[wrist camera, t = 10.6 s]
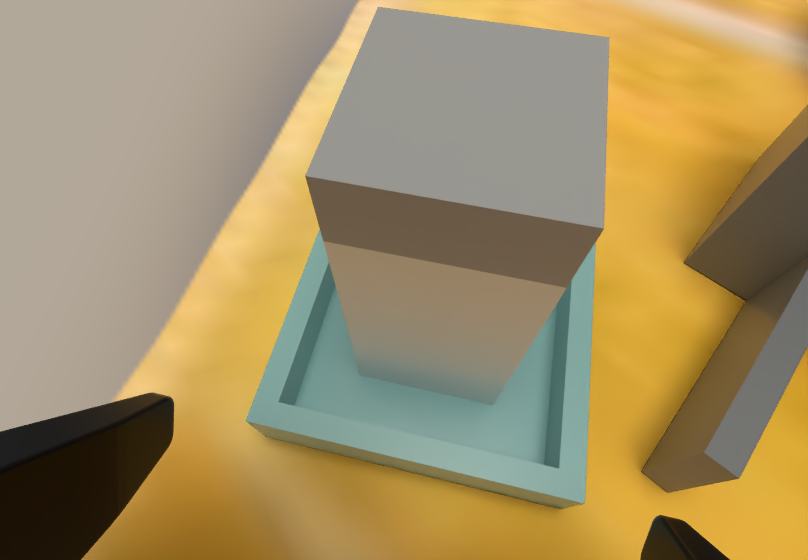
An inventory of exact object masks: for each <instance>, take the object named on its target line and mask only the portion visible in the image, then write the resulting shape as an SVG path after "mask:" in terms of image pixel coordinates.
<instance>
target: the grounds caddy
mask: <svg viewBox="0 0 808 560" xmlns="http://www.w3.org/2000/svg"><path fill="white" fill-rule="evenodd" d="M608 68H609V37H602V36H595V35H587V34H580V33H572V32H564V31H557V30H549V29H542V28H534V27H526V26H519V25H511V24H504V23H496V22H489V21H481V20H473V19H466V18H458V17H451V16H443V15H435V14H428V13H420V12H413V11H405V10H398V9H390V8H382V7H378V8H377V11H376V13H375V15H374V18H373V20H372V22H371V25H370V27H369V29H368V31H367V34H366V36H365V38H364V41H363V43H362V45H361V48H360V50H359V52H358V55H357V57H356V59H355V62H354V64H353V66H352V69H351V71H350V73H349V76H348V78H347V80H346V83H345V85H344V87H343V90H342V92H341V94H340V97H339V99H338V101H337V104H336V106H335V108H334V110H333V113H332V115H331V117H330V120H329V122H328V124H327V127H326V129H325V131H324V134H323V136H322V138H321V141H320V143H319V145H318V148H317V150H316V152H315V155H314V157H313V159H312V162H311V164H310V166H309V169H308V171H307V173H306V176H305V177H306V180H307V184H308V187H309V191H310V195H311V198H312V202H313V206H314V209H315V213H316V216H317V220H318V224H319V227H320V231H321V235H322V238H323V242H324V246H325V249H326V253H327V256H328V260H329V264H330V267H331V271H332V275H333V278H334V282H335V286H336V289H337V293H338V296H339V300H340V304H341V307H342V311H343V315H344V318H345V322H346V326H347V329H348V333H349V336H350V340H351V344H352V347H353V351H354V355H355V358H356V362H357V365H358V369H359V373H360V375H361V376H365V377H370V378H374V379H378V380H383V381H387V382H392V383H396V384H401V385H405V386H410V387H414V388H419V389H423V390H428V391H432V392H437V393H441V394H446V395H450V396H455V397H459V398H464V399H468V400H472V401H477V402H481V403H486V404H490V405H494V403H495V402H496V400H497V398H498V397H499V395H500V394H501V392H502V390H503V389H504V387H505V386H506V384H507V382H508V381H509V379H510V378H511V376H512V374H513V373H514V371H515V370H516V368H517V366H518V365H519V363H520V362H521V360H522V358H523V357H524V355H525V354H526V352H527V351H528V349H529V347H530V346H531V344H532V343H533V341H534V339H535V338H536V336H537V335H538V333H539V331H540V330H541V328H542V327H543V325H544V323H545V322H546V320H547V319H548V317H549V315H550V314H551V312H552V311H553V309H554V307H555V306H556V304H557V303H558V301H559V299H560V298H561V296H562V295H563V293H564V291H565V290H566V288H567V287H568V285H569V284H570V282H571V280H572V279H573V277H574V276H575V274H576V272H577V271H578V269H579V268H580V266H581V264H582V263H583V261H584V260H585V258H586V256H587V255H588V253H589V252H590V250H591V248H592V247H593V245H594V244H595V242H596V240H597V239H598V237H599V236H600V234H601V232H602V231H603V229H604V207H605V173H606V138H607V103H608Z"/></svg>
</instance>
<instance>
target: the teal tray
mask: <svg viewBox="0 0 808 560" xmlns="http://www.w3.org/2000/svg"><path fill="white" fill-rule="evenodd" d="M595 245H596V242H595V244H594V245H593V247H592V248H591V250H590V252H589V253H588V255H587V256H586V258H585V260H584V261H583V263H582V264H581V266H580V268H579V269H578V271H577V272H576V274H575V276H574V277H573V279H572V280H571V282H570V284H569V285H568V287H567V288H566V290H565V291H564V293H563V295H562V296H561V298H560V299H559V301H558V303H557V304H556V306H555V307H554V309H553V311H552V312H551V314H550V315H549V317H548V319H547V320H546V322H545V323H544V325H543V327H542V328H541V330H540V331H539V333H538V335H537V336H536V338H535V339H534V341H533V343H532V344H531V346H530V347H529V349H528V351H527V352H526V354H525V355H524V357H523V358H522V360H521V362H520V363H519V365H518V366H517V368H516V370H515V371H514V373H513V374H512V376H511V378H510V379H509V381H508V382H507V384H506V386H505V387H504V389H503V390H502V392H501V394H500V395H499V397H498V398H497V400H496V402H495V403H494V405H490V404H486V403H481V402H477V401H472V400H468V399H464V398H459V397H455V396H450V395H446V394H441V393H437V392H432V391H428V390H423V389H419V388H414V387H410V386H405V385H401V384H396V383H392V382H387V381H383V380H378V379H374V378H370V377H365V376H361V375H360V373H359V369H358V365H357V362H356V358H355V355H354V351H353V347H352V344H351V340H350V336H349V333H348V329H347V326H346V322H345V318H344V315H343V311H342V307H341V304H340V300H339V296H338V293H337V289H336V286H335V282H334V278H333V275H332V271H331V267H330V264H329V260H328V256H327V253H326V249H325V246H324V242H323V238H322V235H321V231H320V230H319V232H318V235H317V238H316V240H315V243H314V245H313V248H312V251H311V253H310V256H309V258H308V261H307V264H306V266H305V269H304V271H303V274H302V276H301V279H300V282H299V284H298V287H297V289H296V292H295V295H294V297H293V300H292V302H291V305H290V308H289V310H288V313H287V315H286V318H285V321H284V323H283V326H282V328H281V331H280V333H279V336H278V339H277V341H276V344H275V346H274V349H273V352H272V354H271V357H270V359H269V362H268V365H267V367H266V370H265V372H264V375H263V377H262V380H261V383H260V385H259V388H258V390H257V393H256V396H255V398H254V401H253V403H252V406H251V409H250V411H249V414H248V416H247V419H246V422H248V423H249V424H250V425H252V426H253V427H254V428H256V429H257V430H258V431H259V432H261V433H262V434H263V435H265V436H266V437H270V438H274V439H278V440H282V441H286V442H290V443H294V444H298V445H303V446H307V447H311V448H315V449H319V450H323V451H327V452H331V453H335V454H339V455H343V456H347V457H351V458H355V459H359V460H363V461H367V462H372V463H376V464H380V465H384V466H388V467H392V468H396V469H400V470H404V471H408V472H412V473H416V474H420V475H424V476H428V477H432V478H437V479H441V480H445V481H449V482H453V483H457V484H461V485H465V486H469V487H473V488H477V489H481V490H485V491H489V492H493V493H497V494H501V495H506V496H510V497H514V498H518V499H522V500H526V501H530V502H534V503H538V504H542V505H546V506H550V507H554V508H558V509H563V508H568V507H572V506H577V505H581V504H585V490H586V465H587V441H588V416H589V392H590V367H591V343H592V318H593V294H594V269H595Z"/></svg>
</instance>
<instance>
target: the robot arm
mask: <svg viewBox="0 0 808 560" xmlns="http://www.w3.org/2000/svg"><path fill="white" fill-rule="evenodd" d="M173 427H174V402H173V399H172V398H171V397H169V396H165V395H161V394H157V393H147V394H143V395H139V396H136V397H132V398H128V399H124V400H120V401H116V402H113V403H109V404H105V405H101V406H98V407H93V408H89V409H86V410H82V411H78V412H74V413H70V414H67V415H63V416H59V417H55V418H51V419H47V420H43V421H40V422H36V423H32V424H29V425H24V426H20V427H17V428H13V429H9V430H5V431H1V432H0V560H81V559H82V558H83V557H84V556H85V554H86V553H87V552H88V551H89V550H90V549H91V547H92V546H93V545H94V544H95V543H96V542H97V541H98V539H99V538H100V537H101V536H102V535H103V534H104V533H105V531H106V530H107V529H108V528H109V527H110V526H111V524H112V523H113V522H114V521H115V520H116V518H117V517H118V516H119V515H120V513H121V512H122V511H123V509H124V508H125V507H126V505H127V504H128V503H129V501H130V500H131V499H132V497H133V496H134V494H135V493H136V492H137V490H138V489H139V487H140V486H141V485H142V483H143V482H144V481H145V479H146V478H147V476H148V475H149V474H150V472H151V471H152V469H153V468H154V467H155V465H156V464H157V462H158V461H159V460H160V458H161V457H162V456H163V454H164V453H165V451H166V450H167V449H168V447H169V445H170V443H171V441H172V438H173ZM641 560H729V559H728V558H727V557H726V556H725V555H724V554H722V553H721V552H720V551H719V550H718V549H717V548H715V547H714V546H713V545H712V544H711V543H710V542H708V541H707V540H706V539H705V538H704V537H702V536H701V535H700V534H699V533H698V532H697V531H695V530H694V529H693V528H692V527H691V526H690V525H688V524H687V523H686V522H685V521H683V520H680V519H676V518H671V517H667V516H663V515H659V516H657V517H656V518H655V519H654V520H653V522H652V525H651V528H650V530H649V533H648V536H647V538H646V541H645V544H644V547H643V549H642V553H641Z"/></svg>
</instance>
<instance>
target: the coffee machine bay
mask: <svg viewBox="0 0 808 560" xmlns="http://www.w3.org/2000/svg"><path fill="white" fill-rule="evenodd" d="M684 263H685V264H687V265H689V266H690V267H692V268H694V269H695V270H697V271H698V272H700V273H702V274H703V275H705V276H707V277H708V278H710V279H712V280H713V281H715V282H717V283H718V284H720V285H721V286H723V287H725V288H726V289H728V290H730V291H731V292H733V293H735V294H736V295H738V296H740V297H741V298H743V299H744V300H746V302H745V304H744V305H743V307H742V309H741V310H740V312H739V314H738V315H737V317H736V318H735V320H734V322H733V323H732V325H731V327H730V328H729V330H728V331H727V333H726V335H725V336H724V338H723V340H722V341H721V343H720V344H719V346H718V348H717V349H716V351H715V353H714V354H713V356H712V357H711V359H710V361H709V362H708V364H707V366H706V367H705V369H704V370H703V372H702V374H701V375H700V377H699V379H698V380H697V382H696V384H695V385H694V387H693V388H692V390H691V392H690V393H689V395H688V397H687V398H686V400H685V401H684V403H683V405H682V406H681V408H680V410H679V411H678V413H677V414H676V416H675V418H674V419H673V421H672V423H671V424H670V426H669V427H668V429H667V431H666V432H665V434H664V436H663V437H662V439H661V441H660V442H659V444H658V445H657V447H656V449H655V450H654V452H653V454H652V455H651V457H650V458H649V460H648V462H647V463H646V465H645V467H644V468H643V470H642V471H641V472H642V473H644V474H645V475H646V476H647V477H649V478H650V479H651V480H652V481H654V482H655V483H656V484H658V485H659V486H660V487H661V488H663V489H664V490H665V491H666V492H673V491H678V490H683V489H689V488H694V487H699V486H704V485H709V484H714V483H719V482H724V481H729V480H735V479H739V478H740V476H741V474H742V472H743V470H744V469H745V467H746V465H747V463H748V461H749V459H750V457H751V455H752V453H753V451H754V449H755V447H756V445H757V443H758V441H759V440H760V438H761V436H762V434H763V432H764V430H765V428H766V426H767V424H768V422H769V420H770V418H771V416H772V414H773V412H774V411H775V409H776V407H777V405H778V403H779V401H780V399H781V397H782V395H783V393H784V391H785V389H786V387H787V385H788V383H789V382H790V380H791V378H792V376H793V374H794V372H795V370H796V368H797V366H798V364H799V362H800V360H801V358H802V356H803V354H804V353H805V351H806V349H807V347H808V105H807V106H806V107H805V108H804V109H803V111H802V112H801V113H800V114H799V115H798V116H797V117H796V118H795V119H794V120H793V121H792V123H791V124H790V125H789V126H788V127H787V128H786V129H785V130H784V131H783V132H782V134H781V135H780V136H779V137H778V138H777V139H776V140H775V141H774V142H773V143H772V144H771V146H770V147H769V148H768V149H767V150H766V151H765V152H764V153H763V154H762V155H761V156H760V158H759V159H758V160H757V161H756V162H755V164H754V165H753V167H752V168H751V169H750V171H749V172H748V174H747V175H746V176H745V178H744V179H743V181H742V182H741V183H740V185H739V186H738V187H737V189H736V190H735V192H734V193H733V194H732V196H731V197H730V199H729V200H728V201H727V203H726V204H725V206H724V207H723V208H722V210H721V211H720V213H719V214H718V215H717V217H716V218H715V220H714V221H713V222H712V224H711V225H710V227H709V228H708V229H707V231H706V232H705V234H704V235H703V236H702V238H701V239H700V241H699V242H698V243H697V245H696V246H695V247H694V249H693V250H692V252H691V253H690V254H689V256H688V257H687V259H686V260H685V261H684Z"/></svg>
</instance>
